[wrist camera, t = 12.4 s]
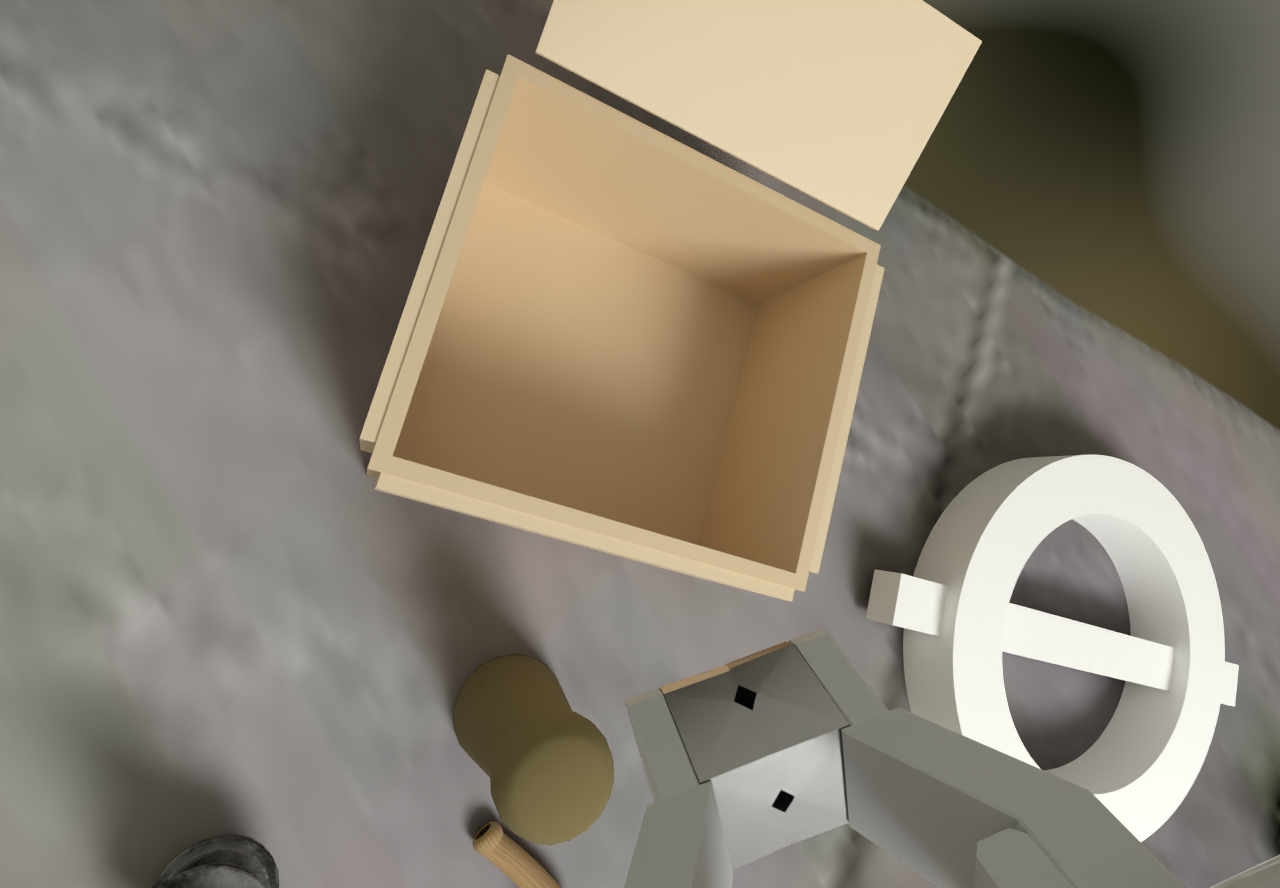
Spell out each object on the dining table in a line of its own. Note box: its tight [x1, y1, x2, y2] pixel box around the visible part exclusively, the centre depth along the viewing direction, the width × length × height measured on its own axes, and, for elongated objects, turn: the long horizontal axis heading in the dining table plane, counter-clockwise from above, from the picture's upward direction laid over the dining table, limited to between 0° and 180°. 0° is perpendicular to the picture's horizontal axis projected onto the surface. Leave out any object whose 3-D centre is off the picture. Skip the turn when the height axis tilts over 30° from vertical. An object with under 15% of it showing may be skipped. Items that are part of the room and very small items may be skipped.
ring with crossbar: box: [866, 454, 1239, 842], centre depth 51 cm, size 28×28×5 cm
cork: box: [454, 654, 614, 845], centre depth 33 cm, size 6×6×11 cm
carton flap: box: [535, 0, 982, 231], centre depth 30 cm, size 1×18×9 cm
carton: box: [360, 54, 884, 602], centre depth 36 cm, size 19×21×11 cm
